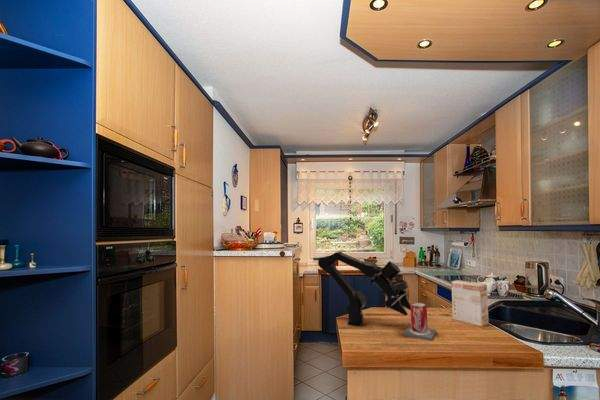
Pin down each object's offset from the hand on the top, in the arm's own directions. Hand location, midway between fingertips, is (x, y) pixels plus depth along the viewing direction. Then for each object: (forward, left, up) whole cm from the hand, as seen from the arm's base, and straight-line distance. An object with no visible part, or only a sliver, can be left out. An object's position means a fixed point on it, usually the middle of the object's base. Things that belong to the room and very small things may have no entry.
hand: (409, 312), depth 155 cm
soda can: (+4, -1, -8) cm, 9 cm away
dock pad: (+4, 0, -9) cm, 10 cm away
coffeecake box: (+24, +29, -9) cm, 39 cm away
